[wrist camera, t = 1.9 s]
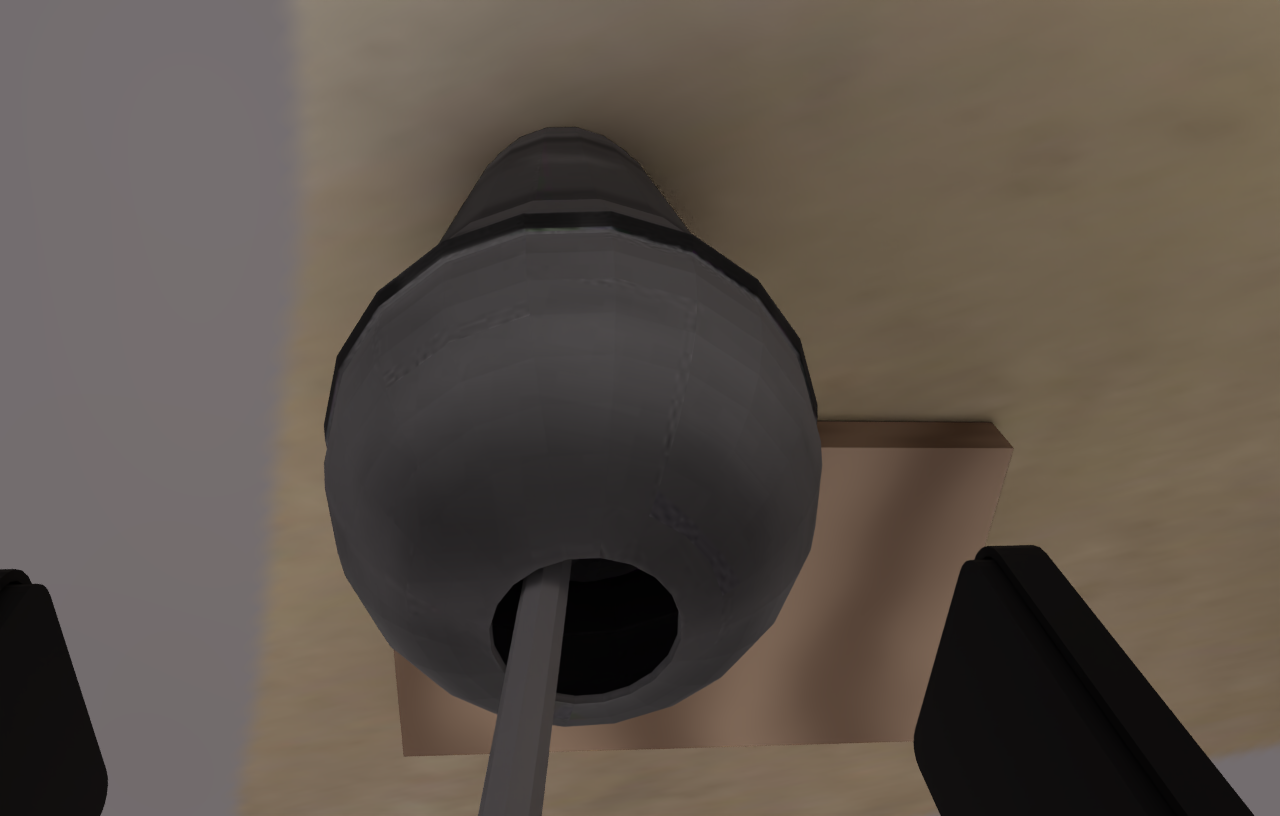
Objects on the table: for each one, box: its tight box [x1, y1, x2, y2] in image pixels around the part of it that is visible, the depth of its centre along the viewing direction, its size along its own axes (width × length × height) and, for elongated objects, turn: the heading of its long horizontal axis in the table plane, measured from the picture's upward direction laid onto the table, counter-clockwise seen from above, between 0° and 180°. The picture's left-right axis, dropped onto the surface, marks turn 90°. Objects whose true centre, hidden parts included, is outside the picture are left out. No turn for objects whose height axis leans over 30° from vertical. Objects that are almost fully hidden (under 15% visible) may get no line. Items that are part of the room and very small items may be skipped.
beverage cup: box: [324, 127, 822, 816], centre depth 15 cm, size 7×7×20 cm
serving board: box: [394, 421, 1014, 756], centre depth 29 cm, size 18×12×2 cm, turn 87°
